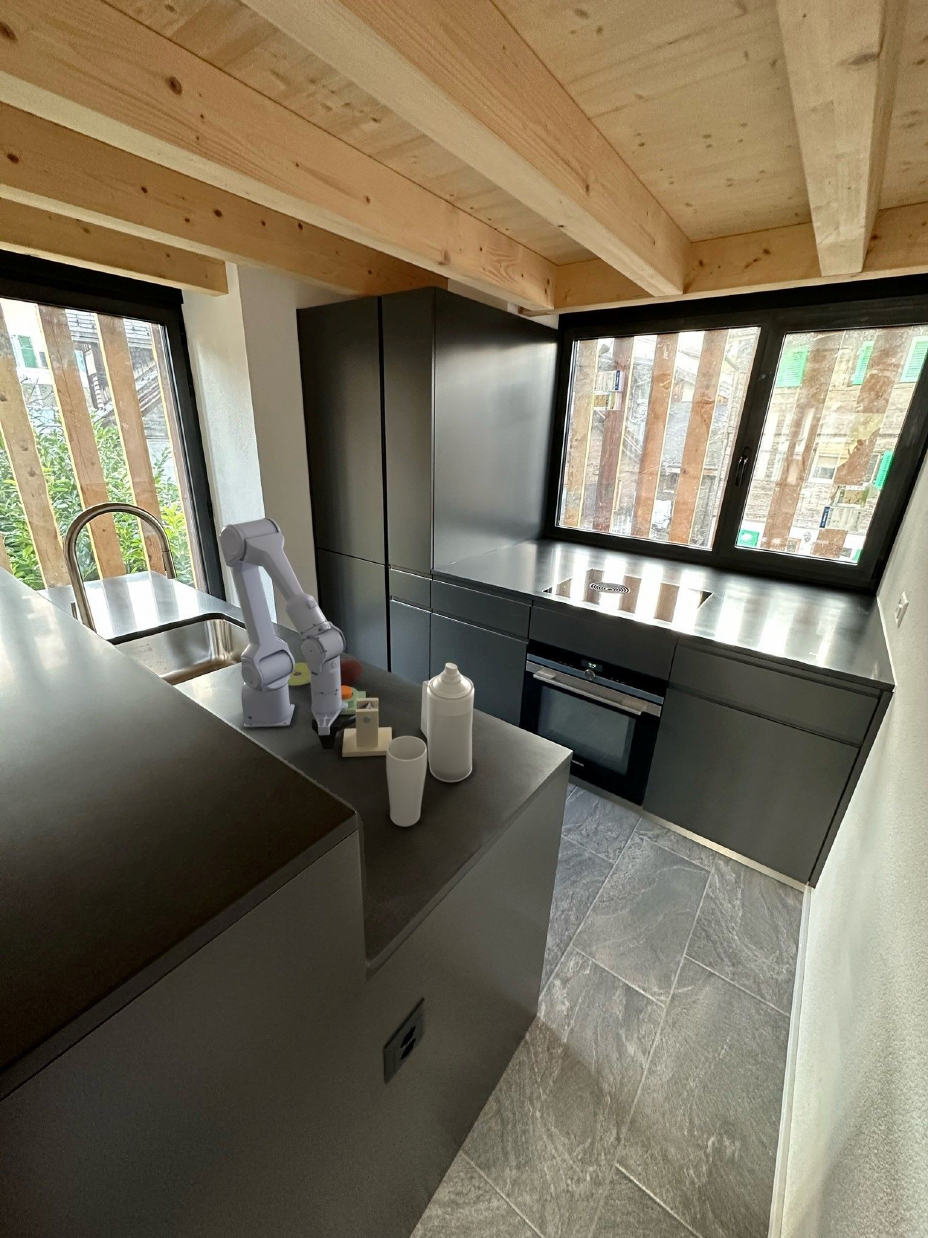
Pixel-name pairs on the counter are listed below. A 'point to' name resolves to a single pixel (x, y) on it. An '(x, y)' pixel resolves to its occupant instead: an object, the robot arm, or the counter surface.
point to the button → (346, 692)
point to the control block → (353, 701)
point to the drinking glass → (406, 778)
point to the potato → (349, 671)
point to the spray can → (450, 724)
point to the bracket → (366, 733)
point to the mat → (299, 675)
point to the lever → (354, 717)
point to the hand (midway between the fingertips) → (329, 742)
